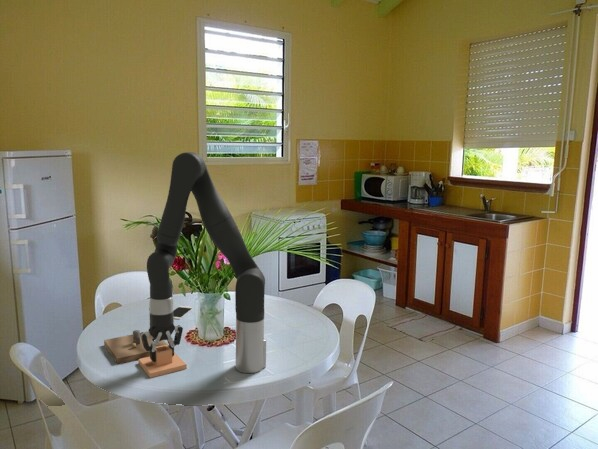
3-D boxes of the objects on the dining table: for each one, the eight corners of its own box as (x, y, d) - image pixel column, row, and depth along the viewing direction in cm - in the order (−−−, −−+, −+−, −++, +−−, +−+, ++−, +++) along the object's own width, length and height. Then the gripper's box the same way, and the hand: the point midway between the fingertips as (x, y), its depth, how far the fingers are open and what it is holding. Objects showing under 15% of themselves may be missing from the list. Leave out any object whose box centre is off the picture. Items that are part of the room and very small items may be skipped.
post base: (153, 335, 182) (153, 319, 181) (170, 352, 168) (170, 334, 167) (104, 345, 172) (103, 328, 171) (117, 364, 157) (117, 345, 156)
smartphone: (194, 308, 215) (194, 306, 214) (179, 320, 200) (179, 318, 199) (179, 307, 216) (179, 305, 216) (164, 319, 201) (164, 316, 201)
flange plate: (173, 355, 165) (173, 339, 164) (186, 368, 156) (186, 351, 155) (138, 363, 158) (138, 346, 157) (150, 377, 149) (149, 359, 148)
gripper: (143, 317, 147) (144, 369, 149) (186, 309, 155) (187, 358, 158) (135, 310, 153) (137, 360, 156) (178, 303, 161) (178, 350, 164)
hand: (162, 359), depth 157 cm, fingers closed on flange plate, 5 cm apart
